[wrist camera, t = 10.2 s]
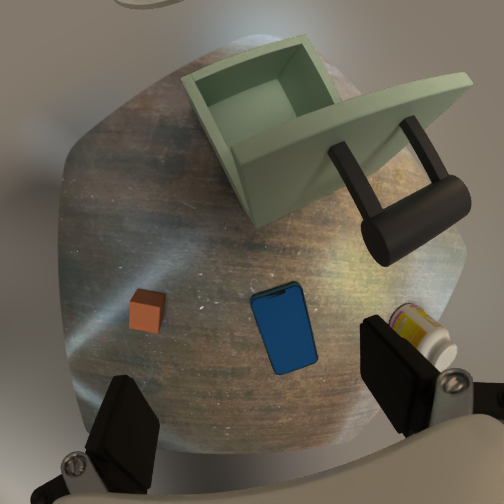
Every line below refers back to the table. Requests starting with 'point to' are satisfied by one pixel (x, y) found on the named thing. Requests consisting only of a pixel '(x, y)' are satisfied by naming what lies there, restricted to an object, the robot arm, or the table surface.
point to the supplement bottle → (424, 335)
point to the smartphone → (285, 328)
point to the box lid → (359, 164)
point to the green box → (257, 95)
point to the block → (146, 311)
